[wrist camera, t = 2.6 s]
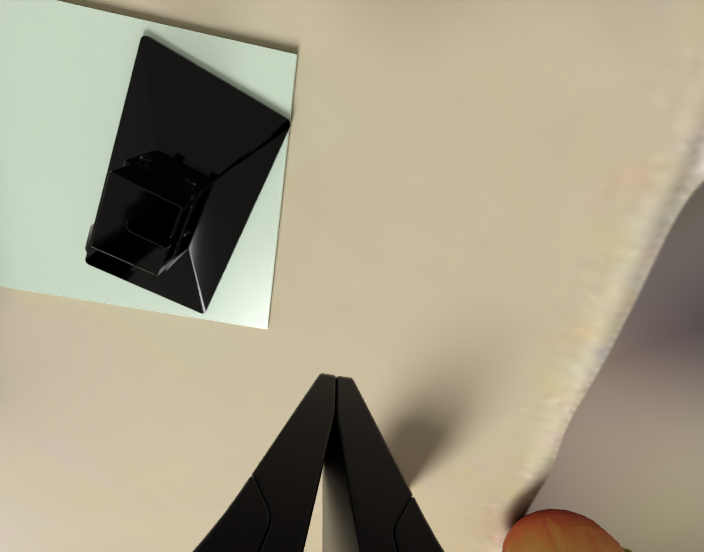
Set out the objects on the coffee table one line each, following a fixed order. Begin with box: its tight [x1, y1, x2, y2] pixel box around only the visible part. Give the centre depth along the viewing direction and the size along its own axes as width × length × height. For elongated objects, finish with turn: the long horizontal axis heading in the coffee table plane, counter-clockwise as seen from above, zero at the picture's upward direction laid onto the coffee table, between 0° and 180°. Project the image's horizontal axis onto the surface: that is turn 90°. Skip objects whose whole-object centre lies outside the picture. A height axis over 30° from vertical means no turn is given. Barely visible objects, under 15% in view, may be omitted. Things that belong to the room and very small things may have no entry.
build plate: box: [85, 36, 291, 314], centre depth 17 cm, size 12×7×5 cm, turn 150°
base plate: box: [0, 0, 298, 329], centre depth 18 cm, size 18×15×3 cm
